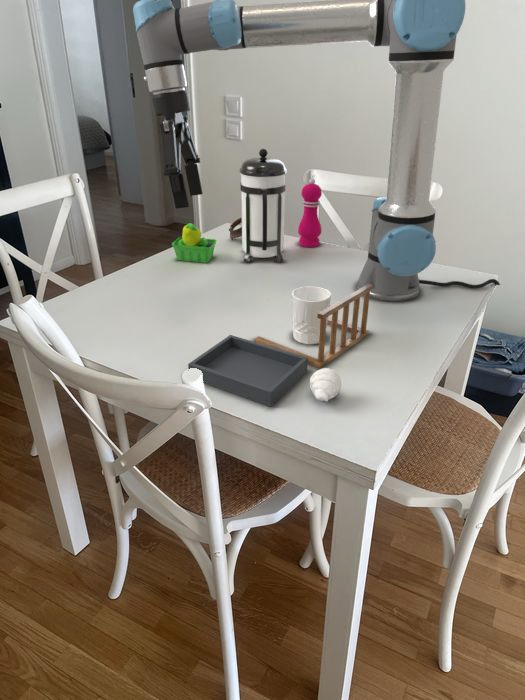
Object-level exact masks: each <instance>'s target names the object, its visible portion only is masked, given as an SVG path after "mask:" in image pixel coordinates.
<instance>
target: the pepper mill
mask: <svg viewBox="0 0 525 700" xmlns="http://www.w3.org/2000/svg"><path fill="white" fill-rule="evenodd" d="M322 192H323V191H322V188H321V186H319V184H316V179H315V178H312V177H311V178H309V180H308V183H307V184H305V185H303V187H302V188H301V197H302V198H303V200H302V206H303V214H302V217H301V219H300V222H299V224H298V228H297V233H298V235H299V236H300V237H298V238H299V239H298V244H299V245H300V246H301V247H305V248H316V247H318V246H319V245H320V238H319V237H320V236H321V234H322V225H321V221H320V219H319V215H318V209H319V206H320V198H321V197H322Z"/></svg>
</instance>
